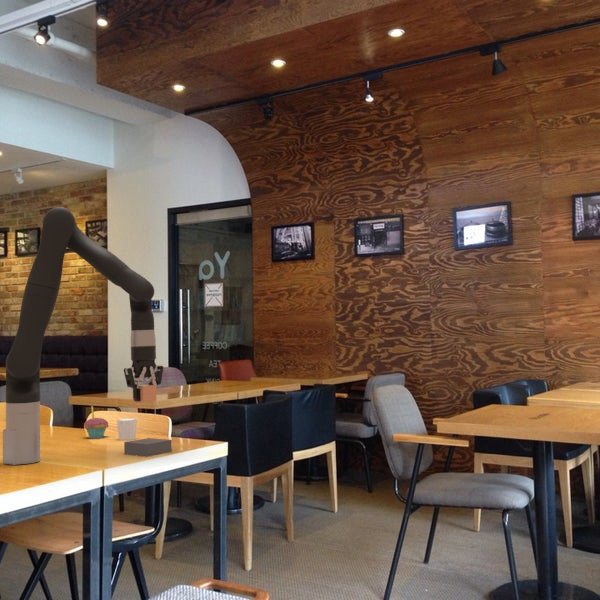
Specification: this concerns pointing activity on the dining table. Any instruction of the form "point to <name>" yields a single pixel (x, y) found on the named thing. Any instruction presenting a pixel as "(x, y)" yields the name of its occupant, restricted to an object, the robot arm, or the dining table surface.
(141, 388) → the terracotta cube
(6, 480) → the dining table surface
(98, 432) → the cupcake
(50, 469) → the dining table surface
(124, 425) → the light grey piece
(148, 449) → the charcoal block
